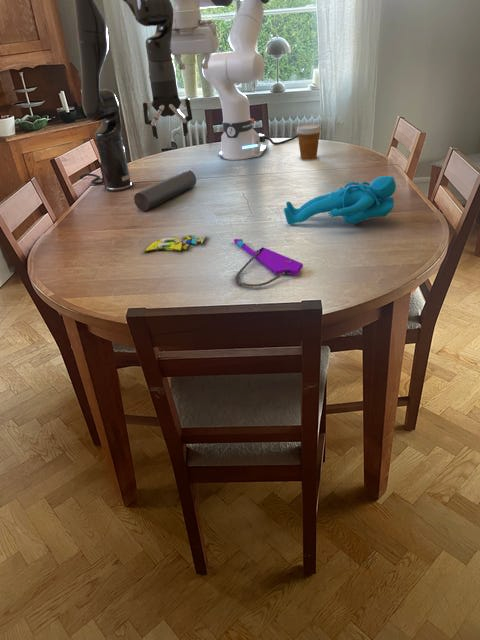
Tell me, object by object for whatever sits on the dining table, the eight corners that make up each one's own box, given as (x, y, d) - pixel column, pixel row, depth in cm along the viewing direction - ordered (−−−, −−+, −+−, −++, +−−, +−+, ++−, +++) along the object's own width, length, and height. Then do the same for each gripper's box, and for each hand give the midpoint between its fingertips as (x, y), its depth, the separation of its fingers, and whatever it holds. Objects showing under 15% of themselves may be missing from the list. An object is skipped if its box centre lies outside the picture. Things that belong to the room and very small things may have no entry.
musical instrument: (279, 298, 104) (317, 250, 116) (277, 290, 102) (316, 243, 115) (192, 283, 116) (235, 241, 129) (190, 275, 115) (233, 234, 127)
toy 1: (199, 248, 125) (143, 249, 127) (199, 251, 125) (144, 252, 127) (206, 233, 133) (154, 234, 135) (206, 236, 133) (154, 237, 136)
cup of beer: (293, 160, 191) (293, 129, 184) (300, 154, 198) (300, 123, 192) (317, 161, 188) (317, 129, 181) (323, 154, 195) (323, 123, 188)
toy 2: (287, 190, 142) (392, 164, 131) (296, 223, 147) (398, 200, 137) (279, 211, 128) (395, 184, 118) (289, 247, 133) (402, 223, 123)
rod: (150, 212, 154) (146, 193, 151) (136, 210, 157) (132, 191, 154) (197, 187, 172) (195, 170, 169) (183, 185, 175) (181, 169, 172)
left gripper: (187, 74, 142) (193, 132, 150) (138, 78, 141) (148, 136, 149) (188, 77, 135) (194, 137, 144) (137, 82, 134) (147, 142, 143)
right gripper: (220, 18, 153) (224, 67, 160) (168, 22, 162) (175, 68, 170) (209, 19, 148) (214, 69, 156) (157, 24, 158) (164, 71, 165)
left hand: (171, 136), depth 147 cm, fingers open, 8 cm apart
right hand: (193, 69), depth 163 cm, fingers open, 8 cm apart
